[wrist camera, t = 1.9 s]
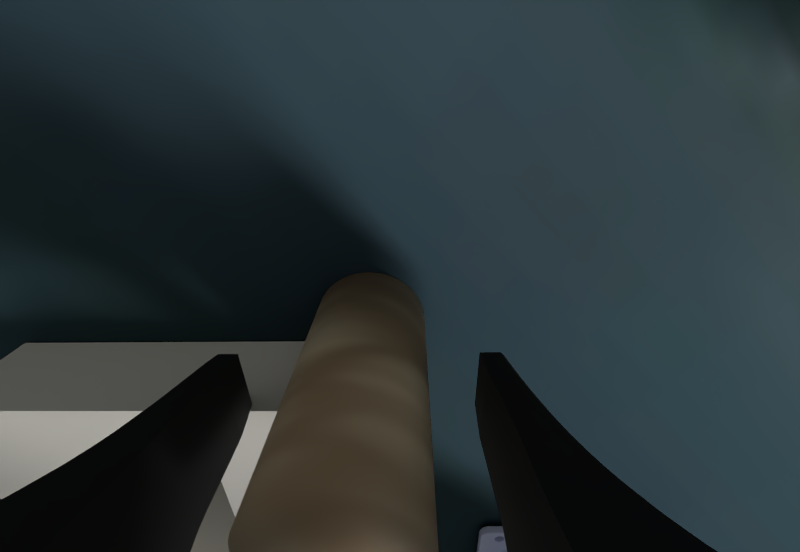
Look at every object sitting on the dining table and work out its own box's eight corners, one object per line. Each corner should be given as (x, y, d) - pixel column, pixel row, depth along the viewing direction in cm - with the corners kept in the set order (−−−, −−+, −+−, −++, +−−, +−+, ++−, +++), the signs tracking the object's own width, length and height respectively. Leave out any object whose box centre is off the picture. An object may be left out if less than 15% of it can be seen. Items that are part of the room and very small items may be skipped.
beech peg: (424, 271, 13) (441, 492, 6) (423, 360, 15) (436, 608, 8) (311, 272, 13) (202, 490, 6) (325, 360, 15) (252, 605, 8)
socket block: (321, 341, 15) (298, 411, 12) (348, 520, 20) (337, 599, 17) (25, 342, 15) (-74, 411, 12) (131, 518, 21) (82, 595, 18)
